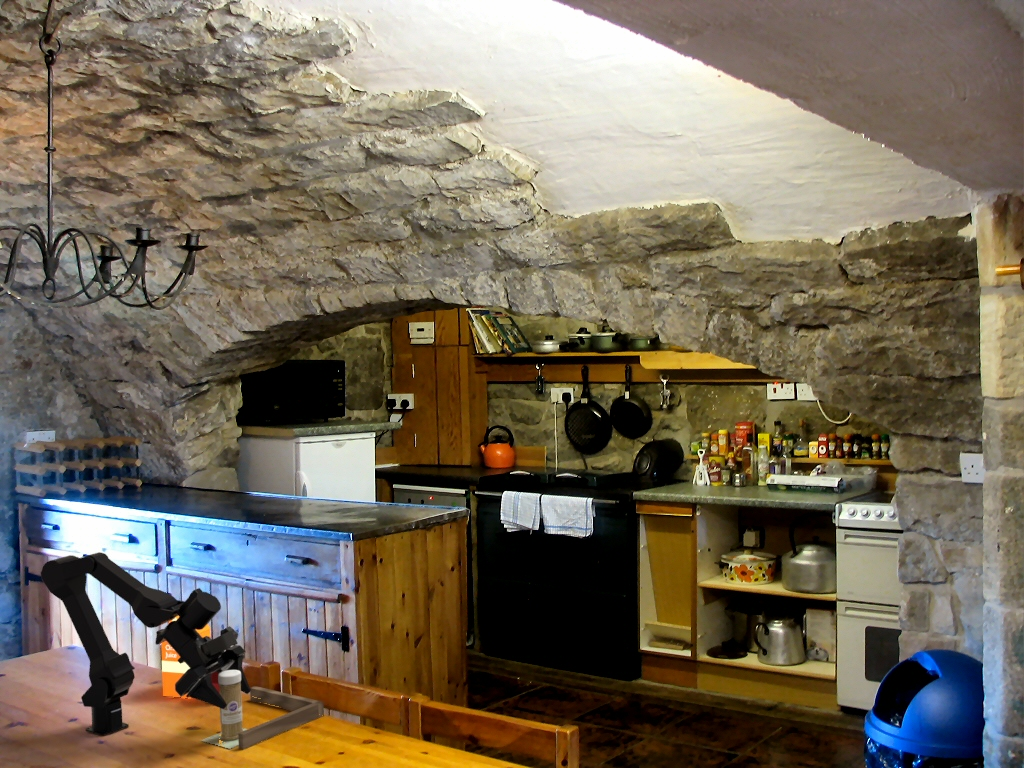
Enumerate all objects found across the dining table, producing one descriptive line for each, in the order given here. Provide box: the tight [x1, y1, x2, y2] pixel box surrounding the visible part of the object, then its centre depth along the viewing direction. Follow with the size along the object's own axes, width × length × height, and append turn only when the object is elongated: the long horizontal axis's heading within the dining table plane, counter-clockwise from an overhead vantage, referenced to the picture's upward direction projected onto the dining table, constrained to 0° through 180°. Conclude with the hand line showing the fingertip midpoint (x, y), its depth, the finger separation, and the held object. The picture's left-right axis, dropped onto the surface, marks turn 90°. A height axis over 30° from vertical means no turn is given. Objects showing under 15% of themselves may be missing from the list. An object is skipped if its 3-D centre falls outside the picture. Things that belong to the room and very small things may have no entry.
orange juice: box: [160, 616, 212, 700], centre depth 229 cm, size 8×9×20 cm
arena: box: [200, 686, 325, 750], centre depth 206 cm, size 22×24×3 cm
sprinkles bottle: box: [218, 670, 243, 740], centre depth 197 cm, size 5×5×13 cm
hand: (237, 699), depth 197 cm, fingers open, 9 cm apart
